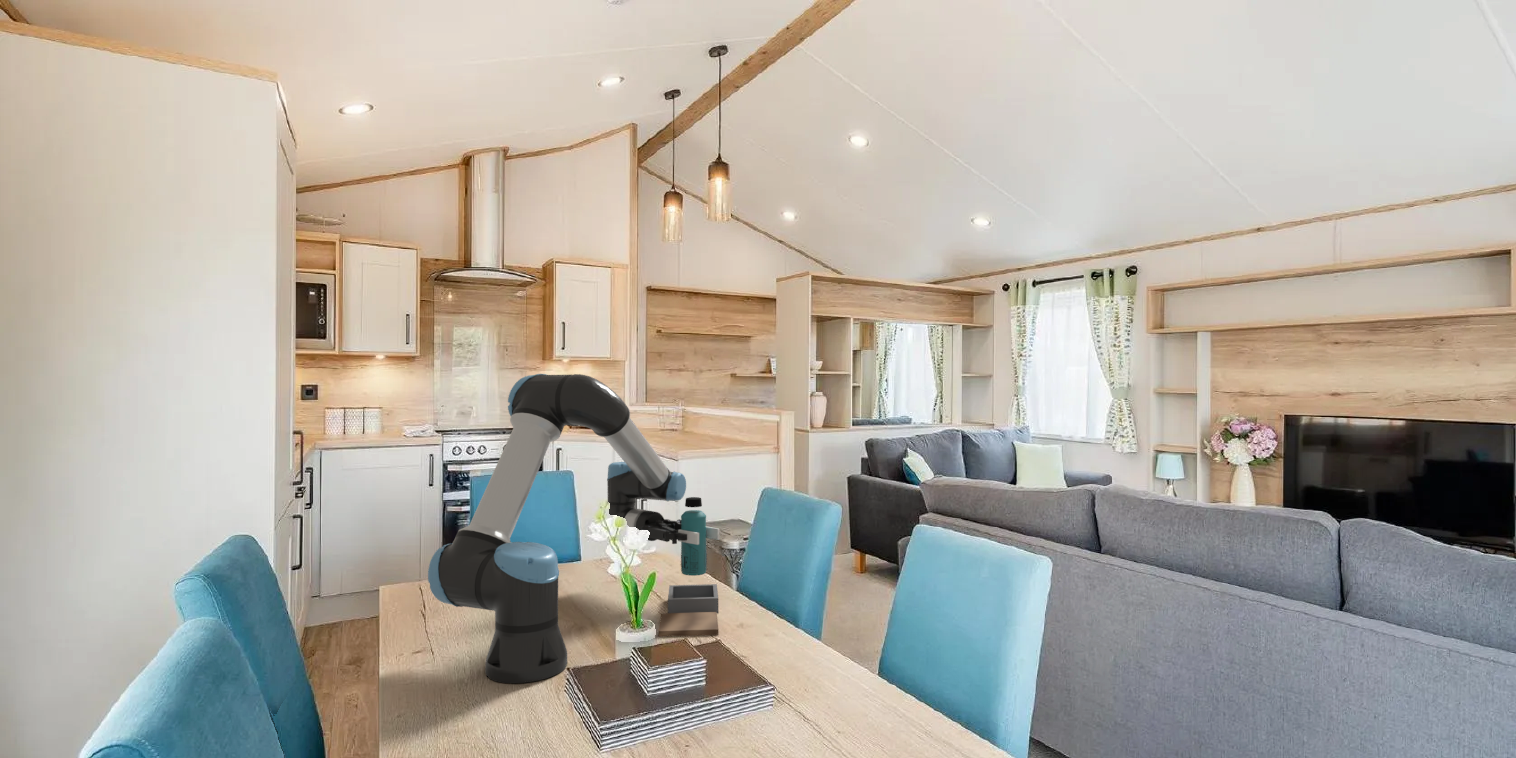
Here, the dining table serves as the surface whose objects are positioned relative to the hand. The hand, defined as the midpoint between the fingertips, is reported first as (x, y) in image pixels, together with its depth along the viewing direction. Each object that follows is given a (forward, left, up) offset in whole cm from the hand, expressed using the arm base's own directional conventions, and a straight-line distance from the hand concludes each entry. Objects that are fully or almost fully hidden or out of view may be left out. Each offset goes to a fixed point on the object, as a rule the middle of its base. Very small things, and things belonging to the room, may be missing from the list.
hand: (708, 536), depth 177 cm
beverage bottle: (-4, +3, -11) cm, 12 cm away
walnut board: (-5, -12, -18) cm, 22 cm away
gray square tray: (-4, +3, -18) cm, 18 cm away
